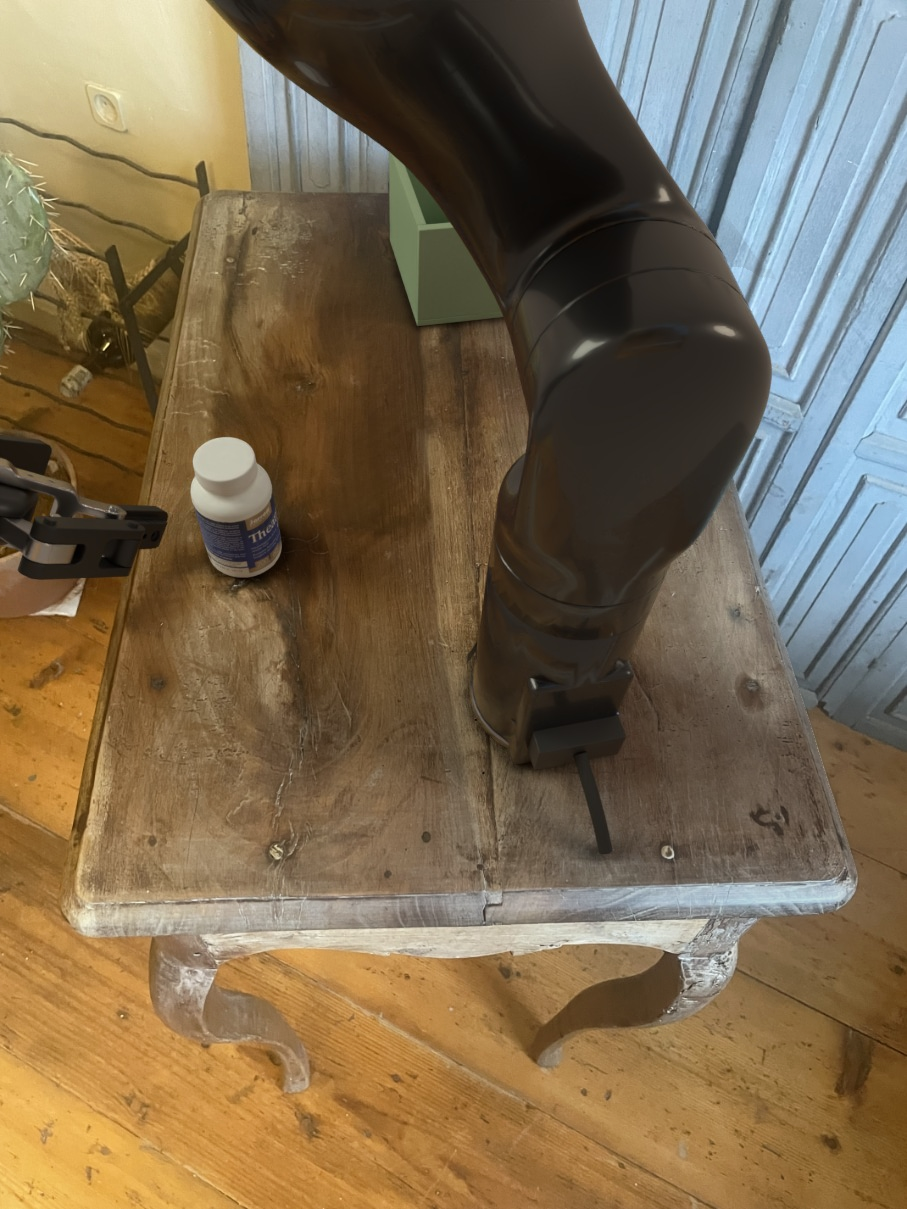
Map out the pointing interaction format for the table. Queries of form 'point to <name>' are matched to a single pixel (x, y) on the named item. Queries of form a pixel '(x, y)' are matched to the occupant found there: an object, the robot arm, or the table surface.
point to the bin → (433, 256)
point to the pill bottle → (235, 508)
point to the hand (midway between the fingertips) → (99, 493)
